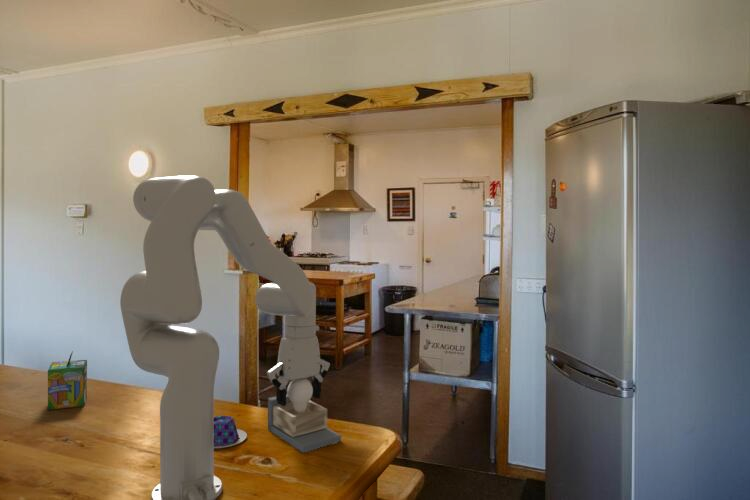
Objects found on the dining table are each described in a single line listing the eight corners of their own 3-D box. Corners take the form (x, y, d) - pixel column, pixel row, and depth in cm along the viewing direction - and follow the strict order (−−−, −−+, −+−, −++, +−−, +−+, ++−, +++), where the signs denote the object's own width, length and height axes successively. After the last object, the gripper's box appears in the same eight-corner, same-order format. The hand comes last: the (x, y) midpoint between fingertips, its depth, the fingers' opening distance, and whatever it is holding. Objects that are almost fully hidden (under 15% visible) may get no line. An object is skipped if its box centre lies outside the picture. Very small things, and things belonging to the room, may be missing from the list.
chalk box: (51, 401, 149) (51, 350, 148) (87, 397, 153) (87, 348, 152) (46, 411, 141) (45, 357, 140) (84, 406, 144) (84, 354, 144)
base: (341, 441, 122) (341, 408, 122) (303, 453, 115) (303, 418, 115) (303, 420, 136) (303, 390, 135) (267, 429, 129) (267, 398, 129)
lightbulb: (307, 427, 123) (307, 382, 123) (283, 425, 124) (283, 381, 124) (316, 418, 129) (316, 375, 129) (292, 416, 131) (292, 373, 130)
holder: (327, 427, 126) (327, 408, 126) (292, 437, 120) (293, 417, 120) (306, 416, 134) (306, 398, 134) (272, 424, 128) (273, 405, 128)
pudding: (187, 439, 123) (187, 417, 123) (234, 427, 131) (234, 407, 131) (206, 456, 114) (206, 432, 114) (255, 442, 122) (255, 420, 122)
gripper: (321, 326, 134) (320, 391, 135) (261, 333, 124) (260, 403, 124) (337, 330, 128) (336, 398, 129) (275, 338, 118) (274, 411, 118)
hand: (299, 400), depth 126 cm, fingers open, 9 cm apart
